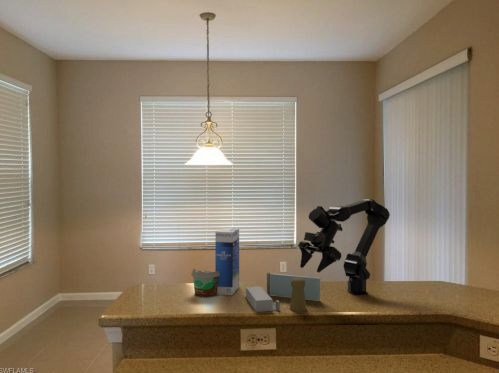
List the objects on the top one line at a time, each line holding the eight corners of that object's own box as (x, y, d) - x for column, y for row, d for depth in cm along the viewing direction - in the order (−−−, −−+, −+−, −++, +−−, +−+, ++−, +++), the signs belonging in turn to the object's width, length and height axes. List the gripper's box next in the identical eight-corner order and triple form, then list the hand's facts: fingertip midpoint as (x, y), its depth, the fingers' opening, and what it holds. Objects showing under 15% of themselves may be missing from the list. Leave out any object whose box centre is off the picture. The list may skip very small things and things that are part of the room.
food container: (185, 296, 155) (185, 271, 155) (193, 292, 161) (193, 268, 161) (213, 299, 150) (212, 273, 150) (220, 295, 156) (220, 270, 156)
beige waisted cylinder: (308, 307, 141) (308, 277, 140) (304, 312, 135) (304, 281, 135) (291, 305, 143) (291, 275, 142) (287, 310, 137) (287, 279, 137)
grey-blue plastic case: (269, 294, 157) (269, 272, 157) (284, 310, 137) (284, 284, 137) (245, 296, 155) (245, 273, 155) (256, 312, 135) (256, 286, 135)
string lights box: (223, 286, 170) (223, 227, 170) (240, 287, 168) (240, 228, 168) (214, 294, 157) (214, 231, 157) (232, 295, 155) (232, 231, 155)
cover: (272, 293, 157) (272, 272, 157) (320, 299, 149) (320, 277, 149) (270, 295, 155) (270, 273, 155) (319, 300, 147) (319, 278, 147)
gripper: (298, 221, 154) (280, 255, 149) (332, 225, 139) (313, 263, 134) (315, 236, 159) (298, 269, 154) (349, 241, 144) (331, 278, 139)
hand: (309, 269), depth 145 cm, fingers open, 9 cm apart
